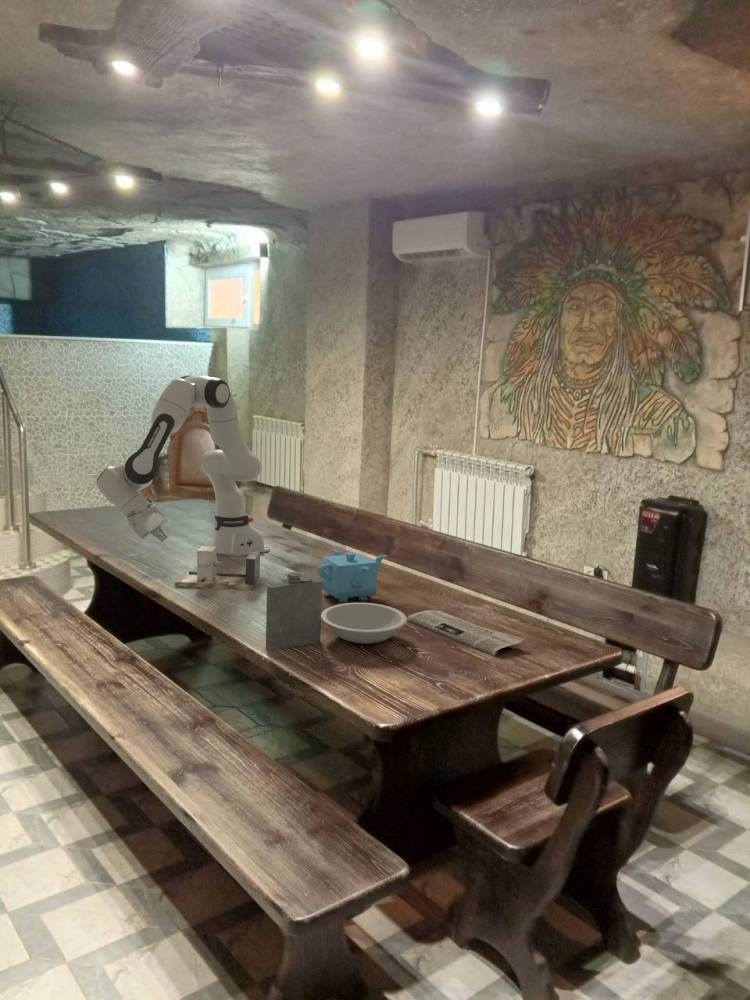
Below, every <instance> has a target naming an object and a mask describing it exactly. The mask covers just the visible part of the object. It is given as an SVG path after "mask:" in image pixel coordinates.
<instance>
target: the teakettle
mask: <svg viewBox="0 0 750 1000" xmlns="http://www.w3.org/2000/svg"><path fill="white" fill-rule="evenodd" d="M332 551H333V553H334V555H327V556H323V557H322V564H321V565H319V566H318V567H317V568H316V571H317V574H318V575H319V576H320V577H321V580H322V590H323V591H325V592H327V593H328V594H329V596H332V597H333V598H335V599H336V600H338V602H339V603H340V604H345V603H349V602H348V601H349V599H350V598H358V600H359V601H368V596H376V595H377V583H378V581H377V580H378V573H379V570H380V569H379V568H380V564H381V562H382V561H383V559H385V558H386V557H388V555H387V554H382V555H378V556H377V557H376V558H375V559H372V558H370V557H368V556H367V555H364V554H363V553H355V552H345V554H341V551H339V549H336V548H334V549H333V550H332Z"/></svg>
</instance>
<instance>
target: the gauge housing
mask: <svg viewBox="0 0 750 1000" xmlns="http://www.w3.org/2000/svg"><path fill="white" fill-rule="evenodd" d="M221 564H222V561H218V560H217V553H216V547H212V546H208V545H207V546H206V545H204V546H203V545H201V546H200V547H199V548H198V549H197V550H196V572H197V580H202V582H204V581H205V580H211V581H212V580H213V579H214V577H215V576H216V573H217V567H221Z"/></svg>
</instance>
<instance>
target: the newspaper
mask: <svg viewBox="0 0 750 1000" xmlns="http://www.w3.org/2000/svg"><path fill="white" fill-rule="evenodd" d="M406 617H407V622H409V623H412V624H415V625H417V626H419V627H422V628H424V629H427V630H429V631H431V632H434V633H437V634H439V635H442V636H444V637H447V638H449V639H452V640H454V641H455V642H456V641H457V642H459V643H462V644H464V645H466V646H468V647H471V648H474V649H477V650H479V651H481V652H484V653H486V654H488V655H491V656H493V657H495V656H496V655H497V654H499V653H500V652H499V650H501V649H503V648H507V647H508V648H511V649H517V648H518V647H519V645H520V643H522V642H523V641H524V640H525V638H522V637H520V636H516V635H513V634H508V633H504V632H501V631H499V630H494V629H492V628H488V627H487V628H486V627H483V626H480V625H478V624H475V623H473V622H469V621H467V620H465V619H462V618H460V617H457V616H455V615H452V614H450V613H447V612H444V611H442V610H440V609H438V610H433V609H428V610H423V611H422V610H421V611H418V612H414V613H413V614H410V615H408V616H406Z"/></svg>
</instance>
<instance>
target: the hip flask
mask: <svg viewBox="0 0 750 1000" xmlns="http://www.w3.org/2000/svg"><path fill="white" fill-rule="evenodd" d="M287 578H288V580H287V581H281V582H275V583H270V584H267V585H266V617H265V618H266V620H265V650H266V651H268V652H275V651H279V650H283V649H286V648H292V647H299V646H306V645H315V644H320V643H321V631H322V628H321V627H322V626H321V625H322V619H321V614H322V601H323V600H322V599H323V589H322V578H302V574H301V572H298V571H290V572H287Z"/></svg>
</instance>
